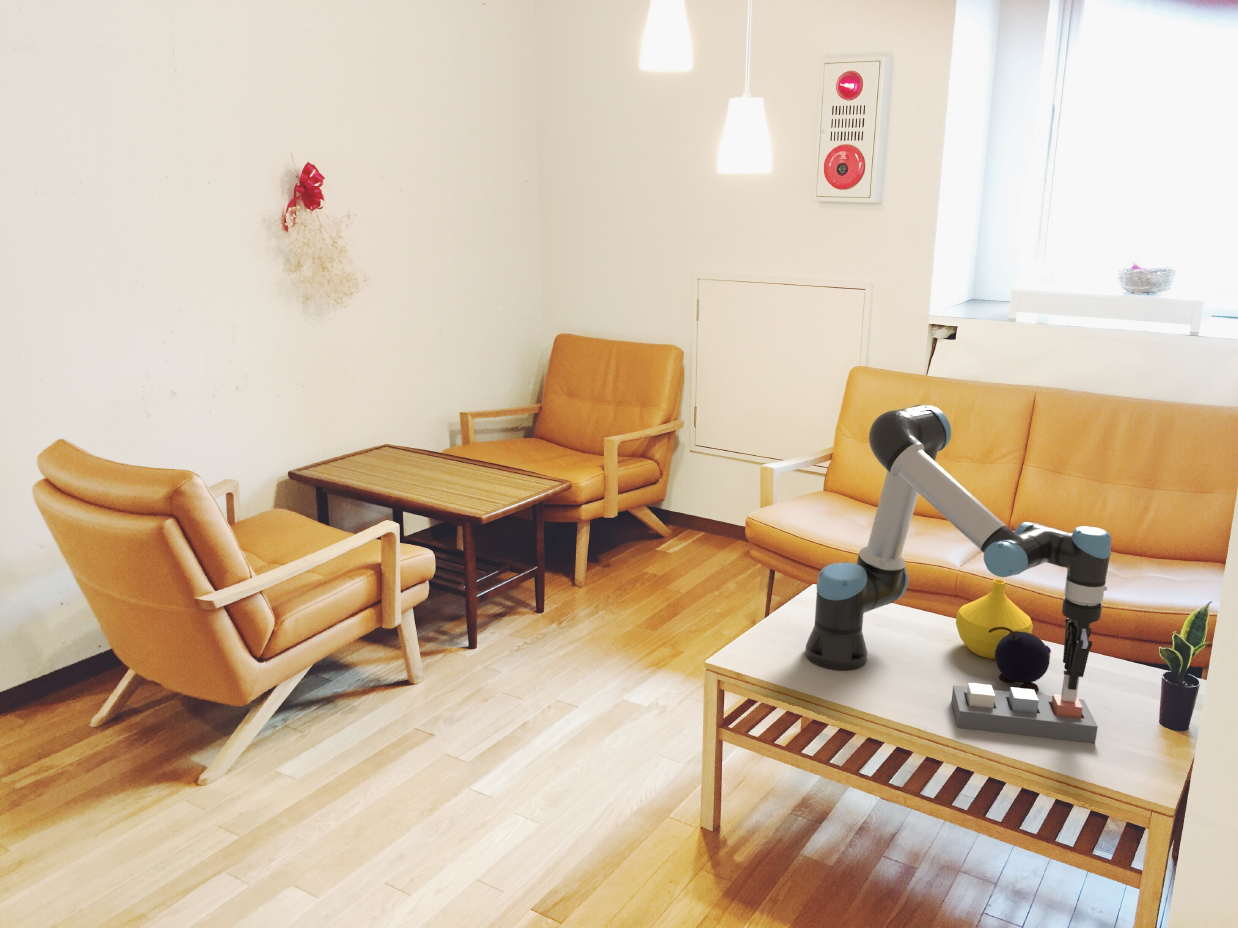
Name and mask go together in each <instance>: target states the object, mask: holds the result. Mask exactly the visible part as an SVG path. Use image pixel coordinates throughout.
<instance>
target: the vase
mask: <svg viewBox="0 0 1238 928" xmlns="http://www.w3.org/2000/svg"><path fill="white" fill-rule="evenodd" d="M1005 588H1006V581H1005V580H1003V579H999V578H994V579H992V587H991V591H990V592H989V593H988V594H985V595H984V596H982V597H979V598H977V599H976V600H973V601H971V602H969V603H966V604H963V605H962V606H961V607H960V608H959V609H958V611H957V613H956V617H955V626H956V628H957V632H958V635H959V638H960V640H961V641H962V642H963V644H964V645H965V646H966V647H967V648H968V649H969V650H970V651H971V652H973V653H974V654H975V655H977V656H980V657H983V658H986V659H991V660H995V650H996V647H997V645H998V643H999V642H1000V640H1001V639H1002V638H1003V637H1005V636H1006V635H1008V634H1009V633H1010V632H1009V631H1007V630H1004V629H999V630H994V631H992V632H991V633H990V632H989V630H990V629H992V628H995V627H1007V628H1009V629H1011V630H1012V631H1013V632H1014V631H1018V632H1027V633H1031V634H1033V629H1034V628H1033V627H1034V625H1033V622H1032V619H1031V617H1030V616H1029V615H1028V614H1027V613H1025V612H1024V611H1023V610H1022V609H1021V608H1020V607H1019V606H1017V605H1016V604H1015V603H1014V602H1013V601H1011V599H1010V598H1008V597H1007V595H1006V594H1005V590H1006V589H1005Z"/></svg>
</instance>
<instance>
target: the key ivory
mask: <svg viewBox="0 0 1238 928" xmlns="http://www.w3.org/2000/svg"><path fill="white" fill-rule="evenodd" d="M966 687H967V696H966V699H967V703H968V706H975V707H984V708H994V700H995V694H994V691H993V690H994V689H993V685H991V684H984V683H976V682H967V686H966Z"/></svg>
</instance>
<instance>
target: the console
mask: <svg viewBox="0 0 1238 928" xmlns="http://www.w3.org/2000/svg"><path fill="white" fill-rule="evenodd" d="M967 687H968V686H962V685H955V684H954V685H953V686H952V694H951V704H952V709H953V714H954V716H955V721H956V722H955V723H956V725H957V728H958V729H959V728H960V729H966V730H967V729H968V730H977V731H985V732H994V733H995V732H996V733H1003V734H1012V735H1019V736H1030V737H1038V738H1047V739H1053V740H1054V739H1056V740H1062V741H1071V742H1079V743H1081V742H1082V743H1087V744H1088V743H1090V744H1096V741H1097V740H1096V739H1097V734H1098V725H1097V722H1096V721H1095V719H1094V716H1093V714H1092V713H1091V710H1090V709H1089V707H1088V705H1087V702H1086V700H1085V699H1082V698H1078V699H1079V701H1080V703H1081V705H1082V707H1083V708H1082V715H1081V718H1074V717H1065V716H1056V715H1054V714H1053V711H1052V709H1051V704H1052V697H1053V695H1045V694H1036V695H1037V698H1038V700H1039V702H1038V709H1037V713H1029V712H1020V711H1011V709H1010V706H1009V704H1008V701H1009V693H1010V690H998V689H993V691H994V694H995V700H994V708H984V707H975V706H968V703H967V699H966V696H967Z"/></svg>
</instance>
